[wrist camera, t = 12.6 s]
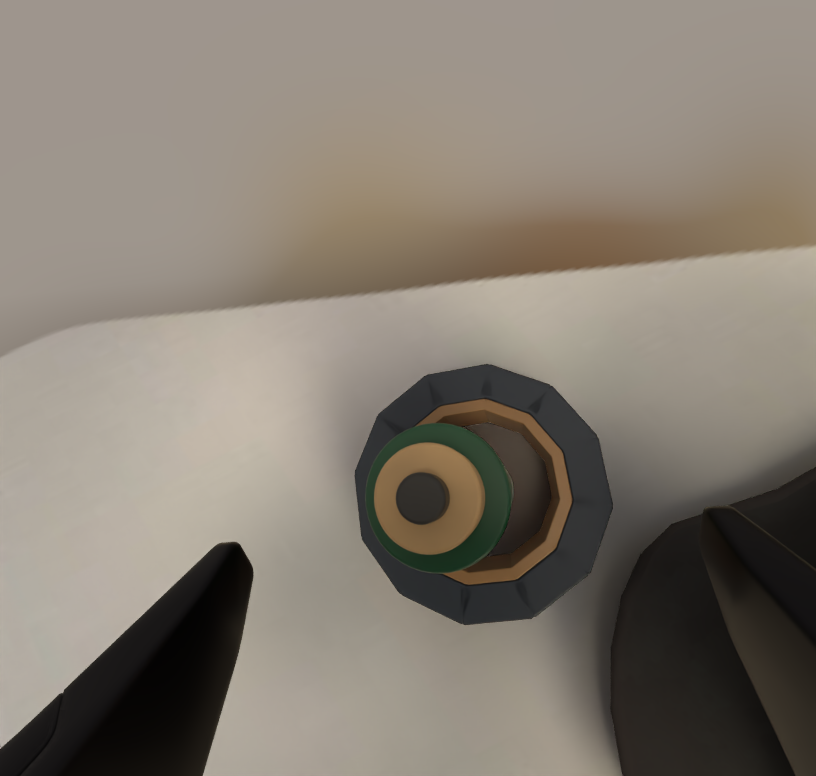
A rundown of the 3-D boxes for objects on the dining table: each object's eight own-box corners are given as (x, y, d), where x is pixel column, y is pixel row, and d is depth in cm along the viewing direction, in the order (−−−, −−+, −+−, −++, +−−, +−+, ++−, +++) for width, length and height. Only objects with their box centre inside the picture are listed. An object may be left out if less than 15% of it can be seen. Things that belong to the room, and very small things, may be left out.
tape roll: (641, 508, 19) (668, 513, 16) (467, 645, 19) (457, 678, 16) (496, 346, 21) (493, 319, 18) (343, 470, 22) (311, 467, 18)
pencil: (522, 511, 20) (541, 568, 6) (462, 529, 20) (357, 618, 7) (502, 450, 20) (480, 382, 7) (443, 468, 21) (313, 438, 7)
